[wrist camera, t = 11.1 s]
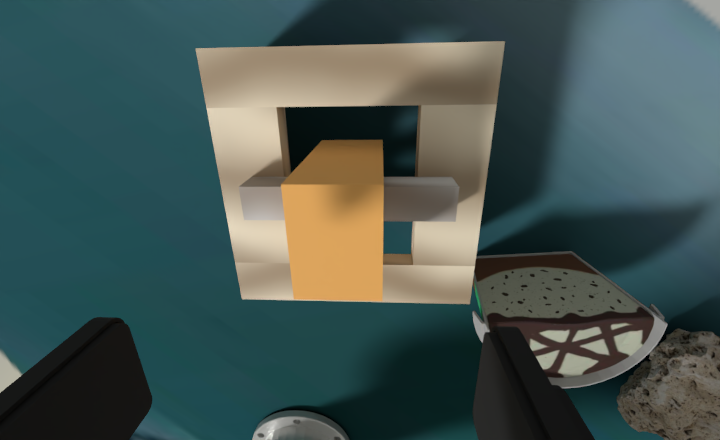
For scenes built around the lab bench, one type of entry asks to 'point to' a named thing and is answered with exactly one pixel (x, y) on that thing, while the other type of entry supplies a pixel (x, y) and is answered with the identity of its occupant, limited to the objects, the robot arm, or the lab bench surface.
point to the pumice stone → (676, 389)
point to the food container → (565, 315)
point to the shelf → (357, 84)
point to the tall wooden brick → (336, 222)
